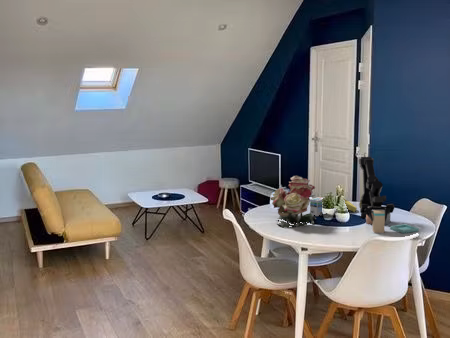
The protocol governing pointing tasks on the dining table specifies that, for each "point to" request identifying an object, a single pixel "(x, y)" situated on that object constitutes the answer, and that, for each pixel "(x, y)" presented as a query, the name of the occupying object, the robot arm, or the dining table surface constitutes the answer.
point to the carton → (378, 221)
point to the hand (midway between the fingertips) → (379, 220)
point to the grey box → (387, 219)
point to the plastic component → (350, 206)
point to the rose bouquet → (294, 202)
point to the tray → (404, 228)
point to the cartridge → (369, 220)
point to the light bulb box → (316, 206)
